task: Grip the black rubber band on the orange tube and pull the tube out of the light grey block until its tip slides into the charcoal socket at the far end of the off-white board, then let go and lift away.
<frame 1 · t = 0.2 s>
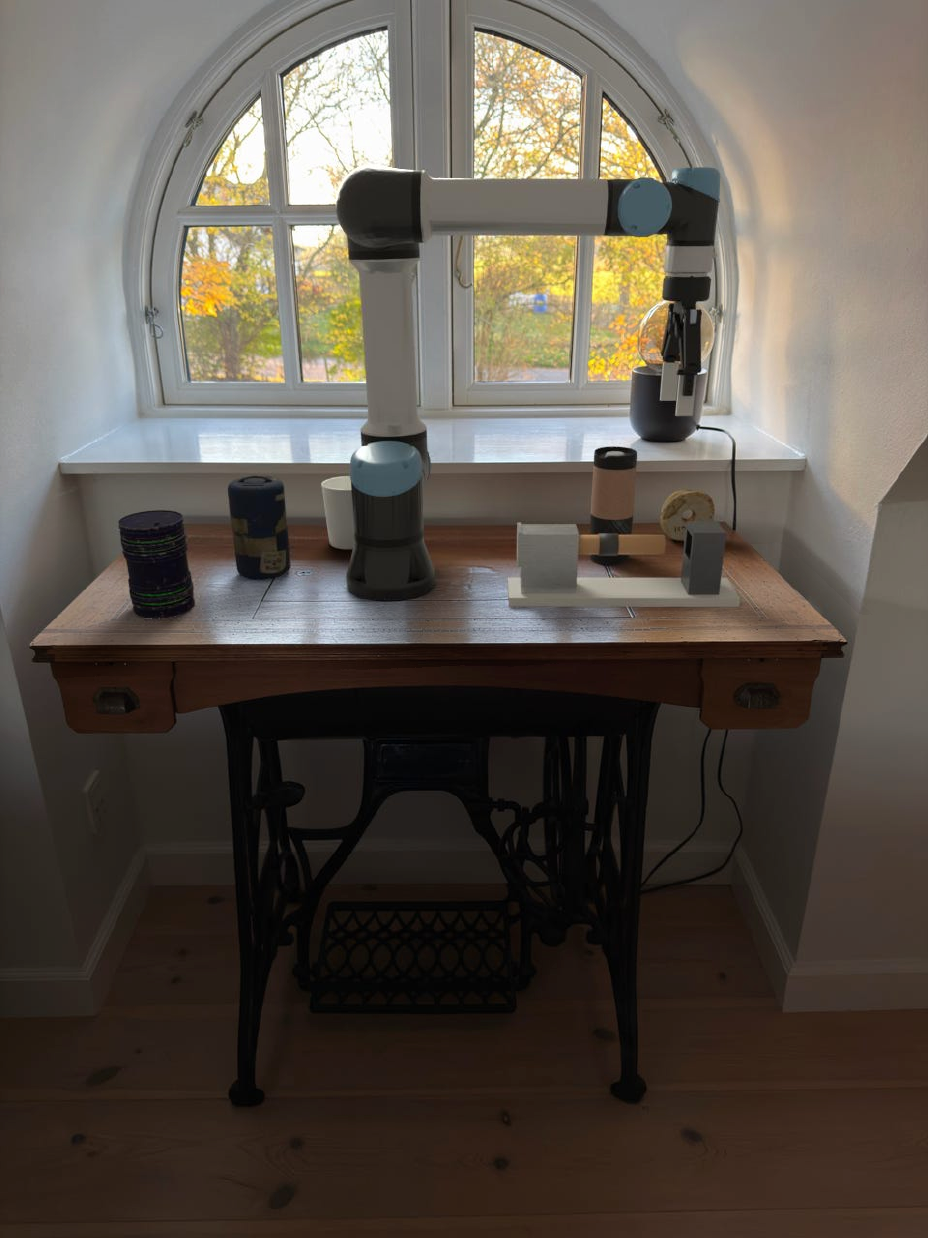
hand: (675, 407, 152), 28 cm above the table, tool pointing down, fingers open, 13 cm apart
canister: (265, 575, 158), on the table
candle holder: (351, 543, 173), on the table
orange tube: (595, 544, 144), point 9 cm above the table, slide at 0.0 cm
stone disc: (684, 540, 174), on the table
charcoal socket: (698, 596, 147), resting on baseboard
light grey block: (547, 595, 148), resting on baseboard
baseboard: (619, 596, 147), on the table
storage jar: (164, 608, 145), on the table
travel mug: (609, 559, 164), on the table
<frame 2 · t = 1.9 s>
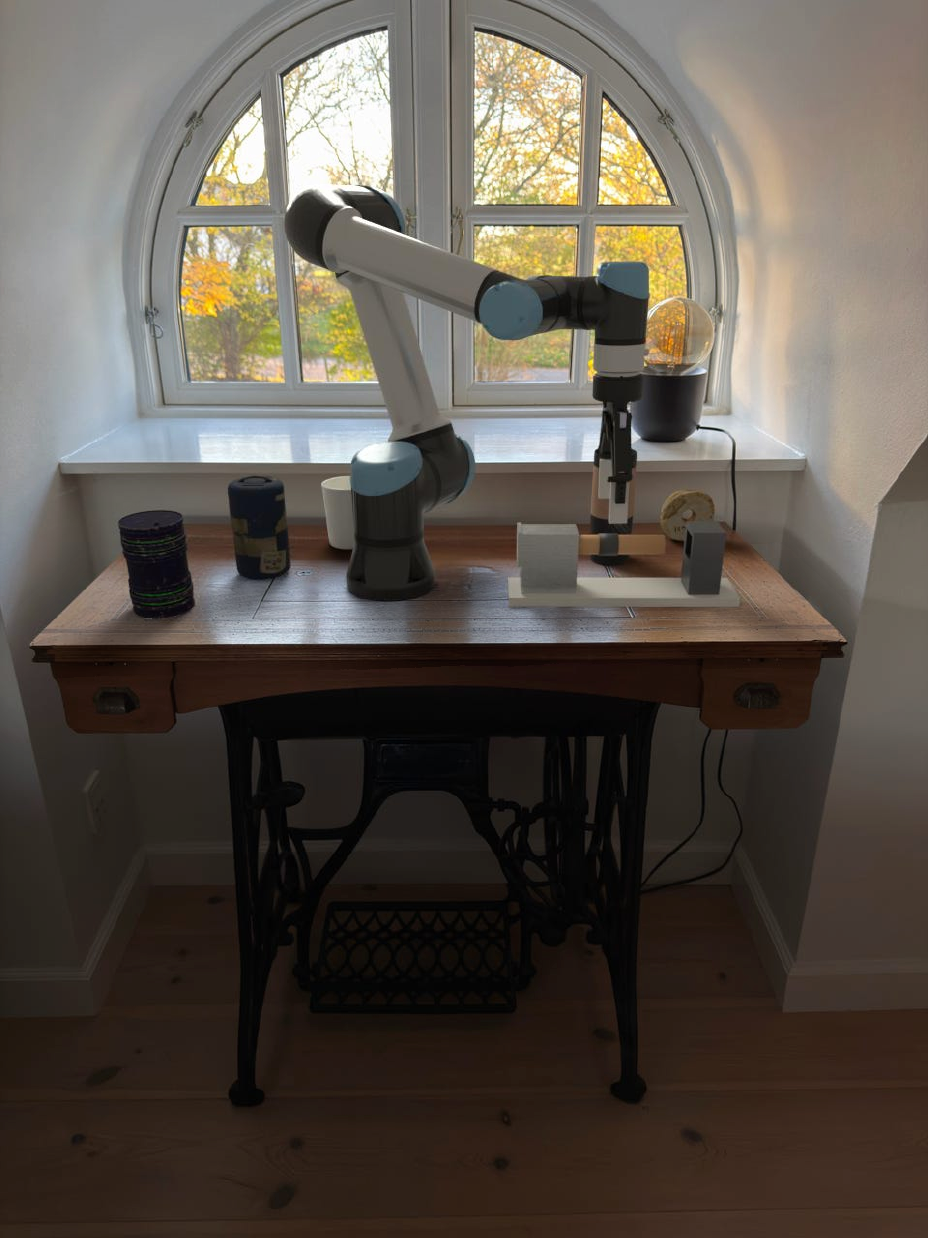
hand: (611, 510, 141), 15 cm above the table, tool pointing down, fingers open, 13 cm apart
nothing on the table moved.
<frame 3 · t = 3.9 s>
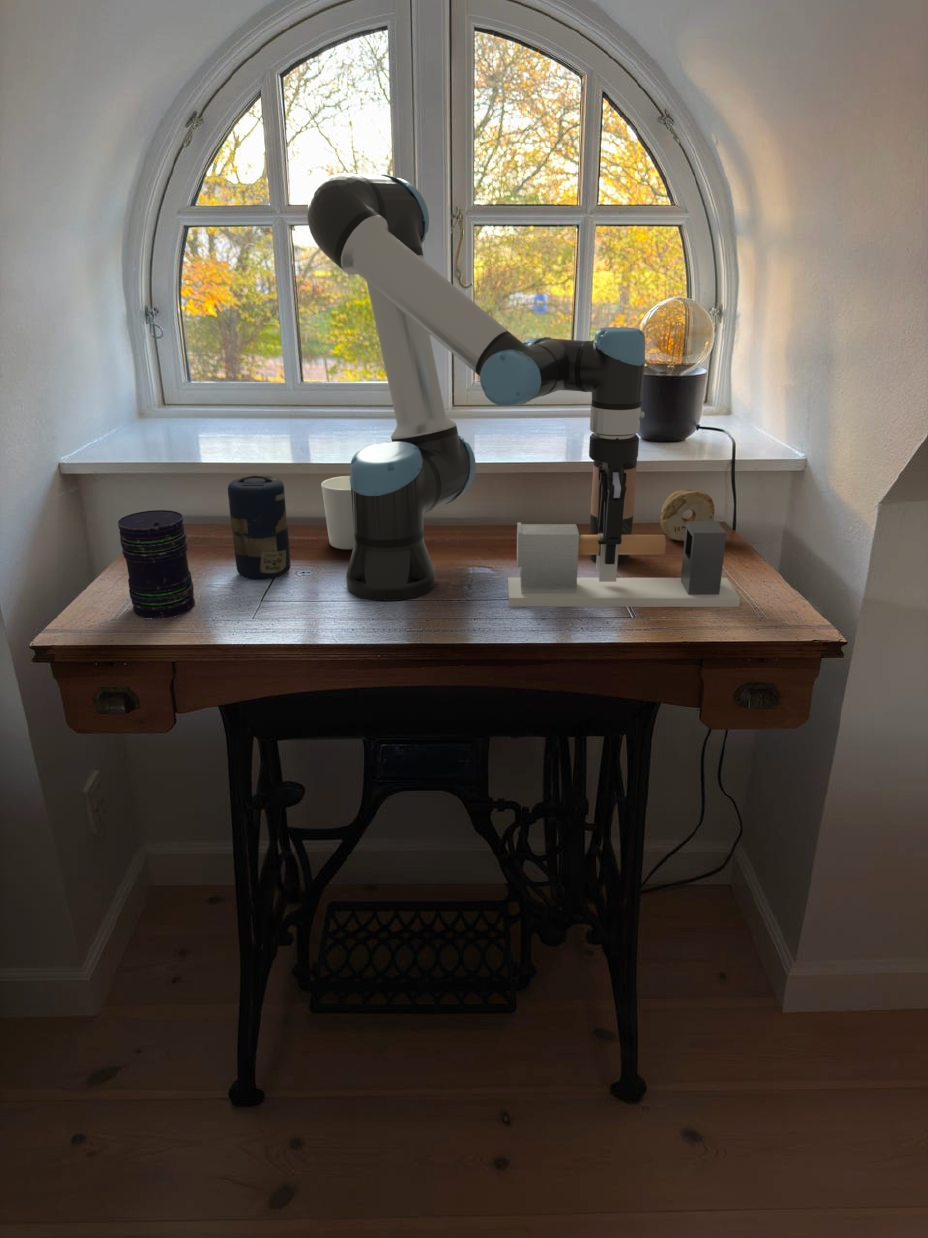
hand: (605, 575, 146), 4 cm above the table, tool pointing down, fingers closed on orange tube, 4 cm apart
orange tube: (595, 544, 144), point 9 cm above the table, slide at 0.0 cm, touching gripper
everything else where it was.
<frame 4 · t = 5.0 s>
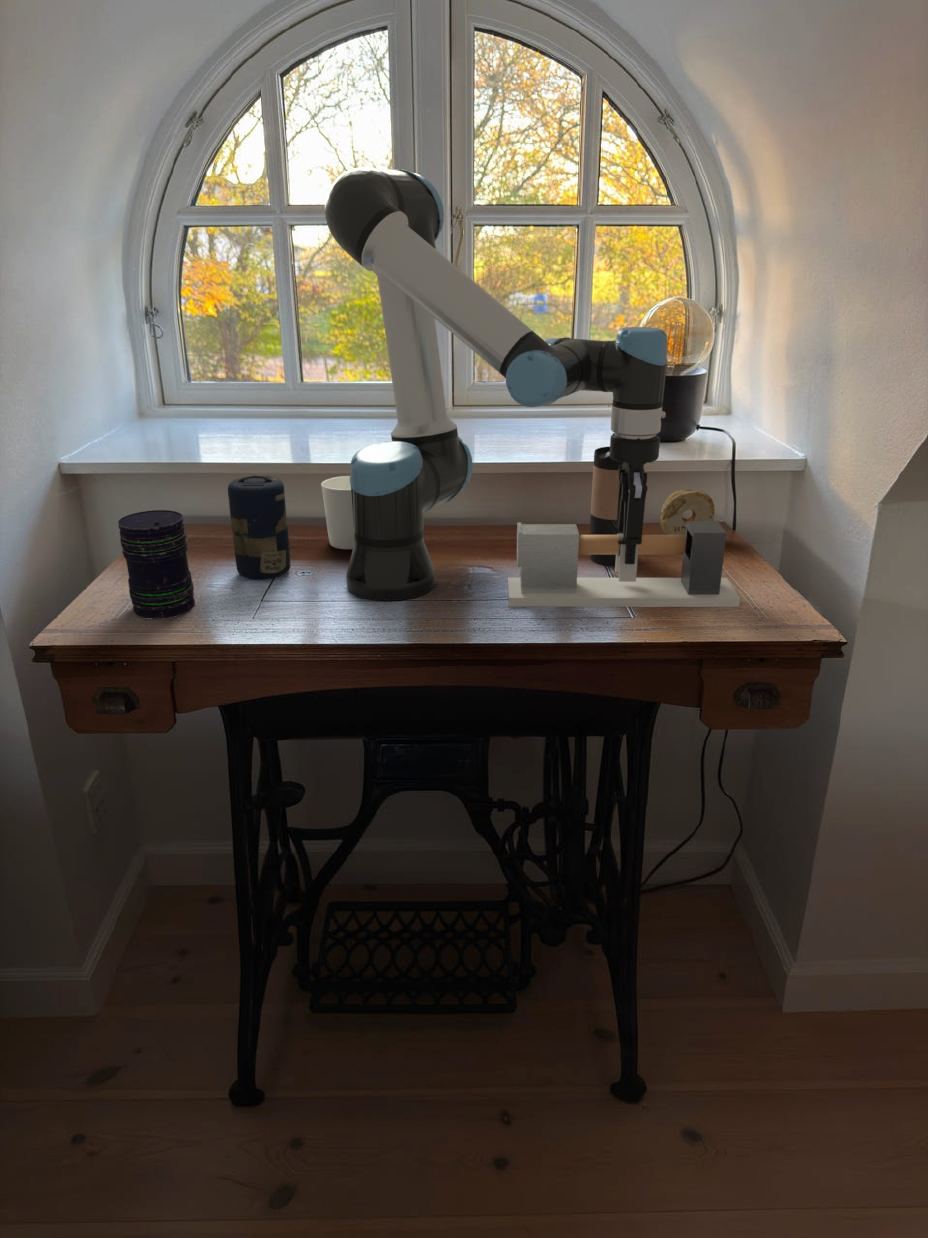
hand: (625, 575, 146), 4 cm above the table, tool pointing down, fingers closed on orange tube, 4 cm apart
orange tube: (615, 544, 144), point 9 cm above the table, slide at 3.2 cm, touching gripper
everything else where it was.
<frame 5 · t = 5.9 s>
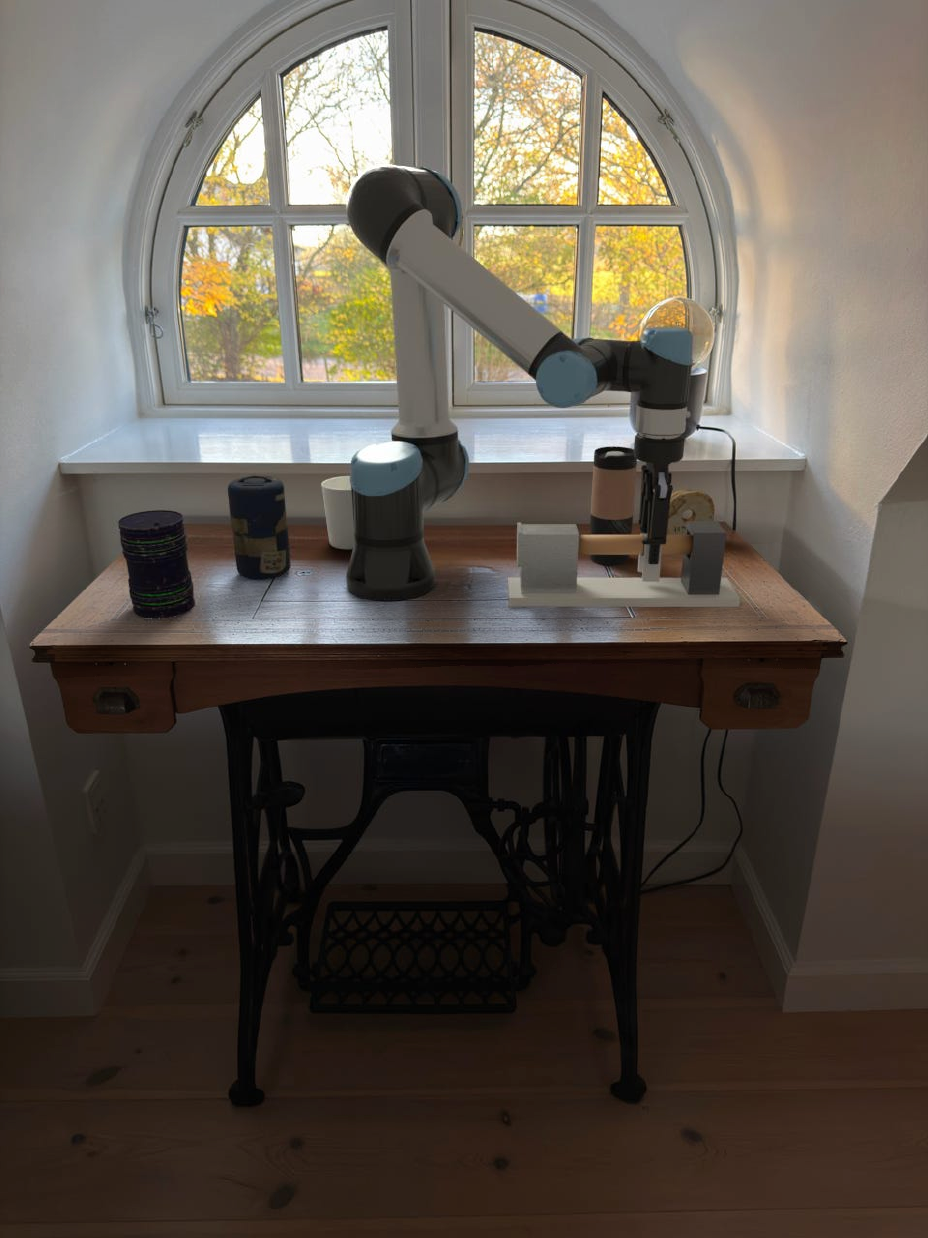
hand: (648, 575, 146), 4 cm above the table, tool pointing down, fingers closed on orange tube, 4 cm apart
orange tube: (638, 544, 144), point 9 cm above the table, slide at 6.9 cm, touching gripper
everything else where it was.
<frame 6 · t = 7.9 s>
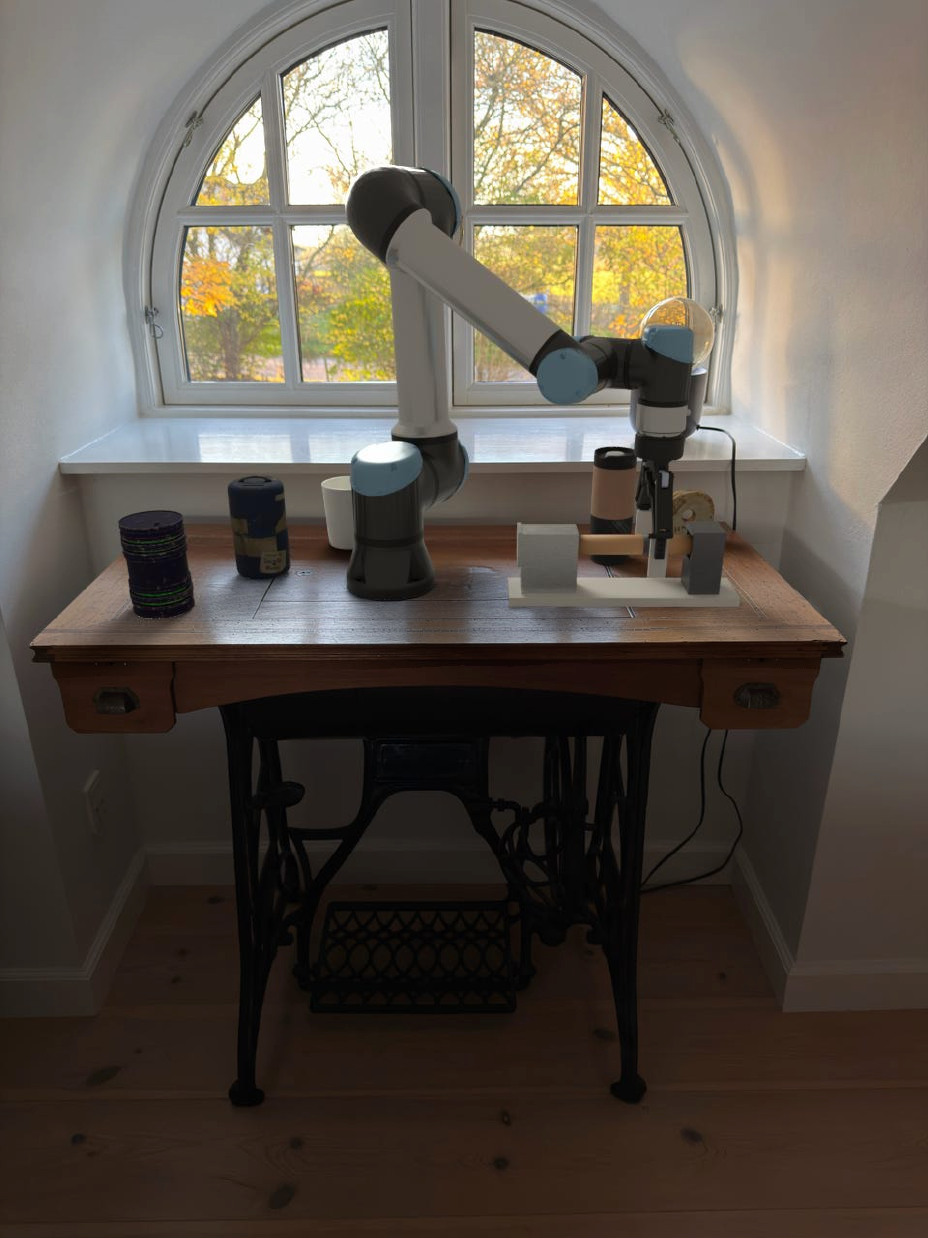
hand: (648, 561, 145), 6 cm above the table, tool pointing down, fingers open, 13 cm apart
orange tube: (638, 544, 144), point 9 cm above the table, slide at 7.0 cm
everything else where it was.
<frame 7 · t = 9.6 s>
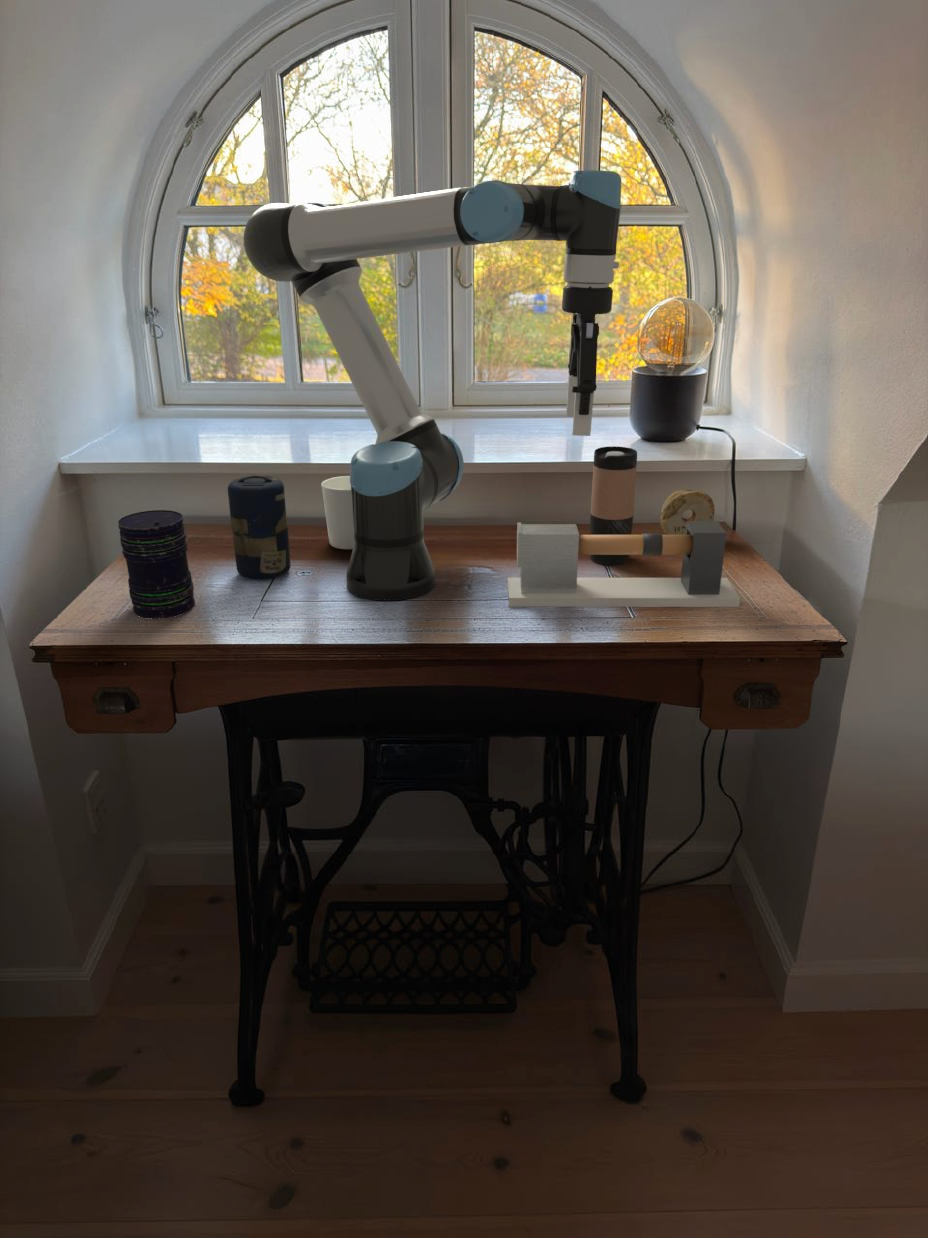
hand: (577, 425, 143), 27 cm above the table, tool pointing down, fingers open, 13 cm apart
nothing on the table moved.
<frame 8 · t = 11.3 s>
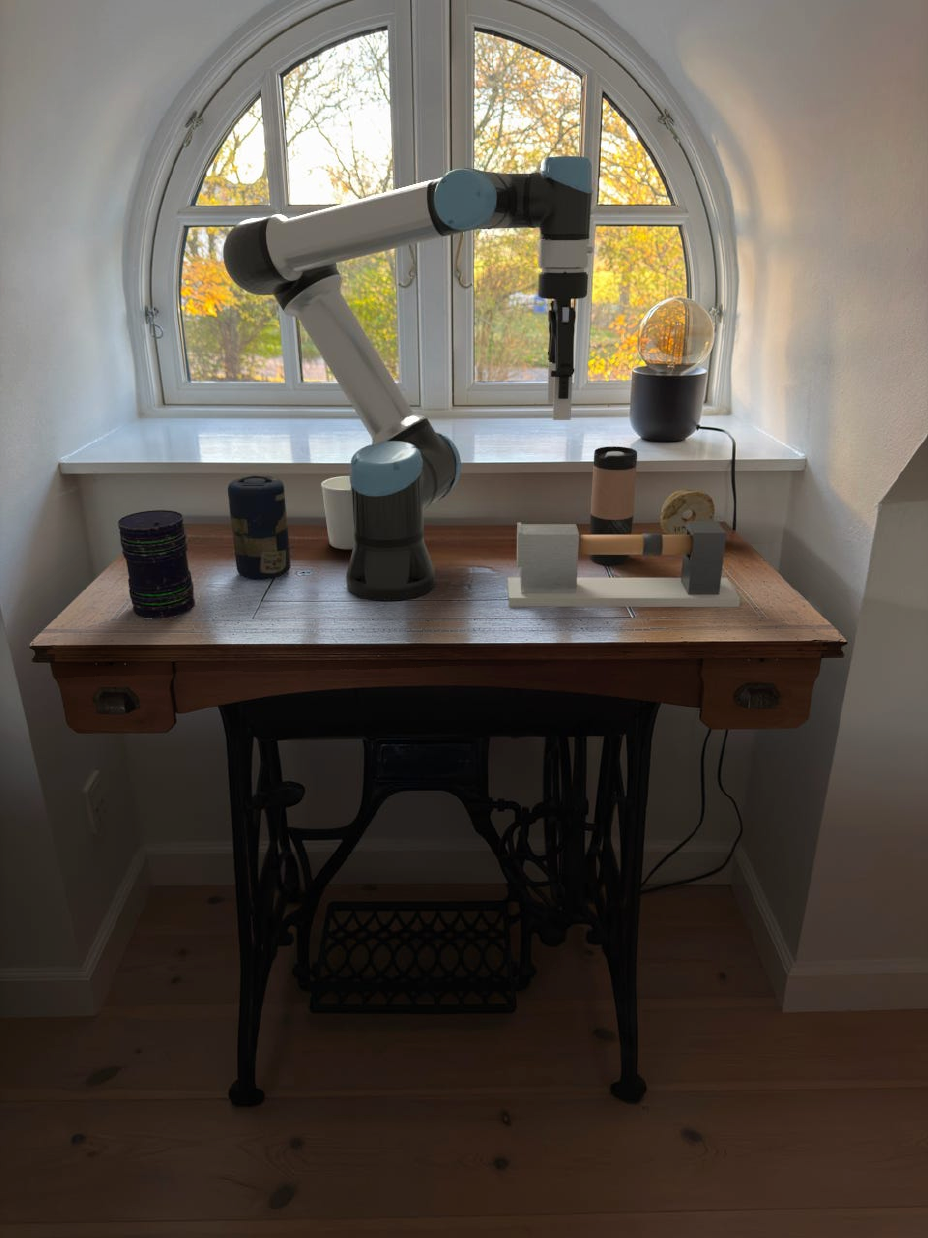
hand: (558, 411, 144), 29 cm above the table, tool pointing down, fingers open, 13 cm apart
nothing on the table moved.
at the end: orange tube slide at 7.0 cm; the gripper is holding nothing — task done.
